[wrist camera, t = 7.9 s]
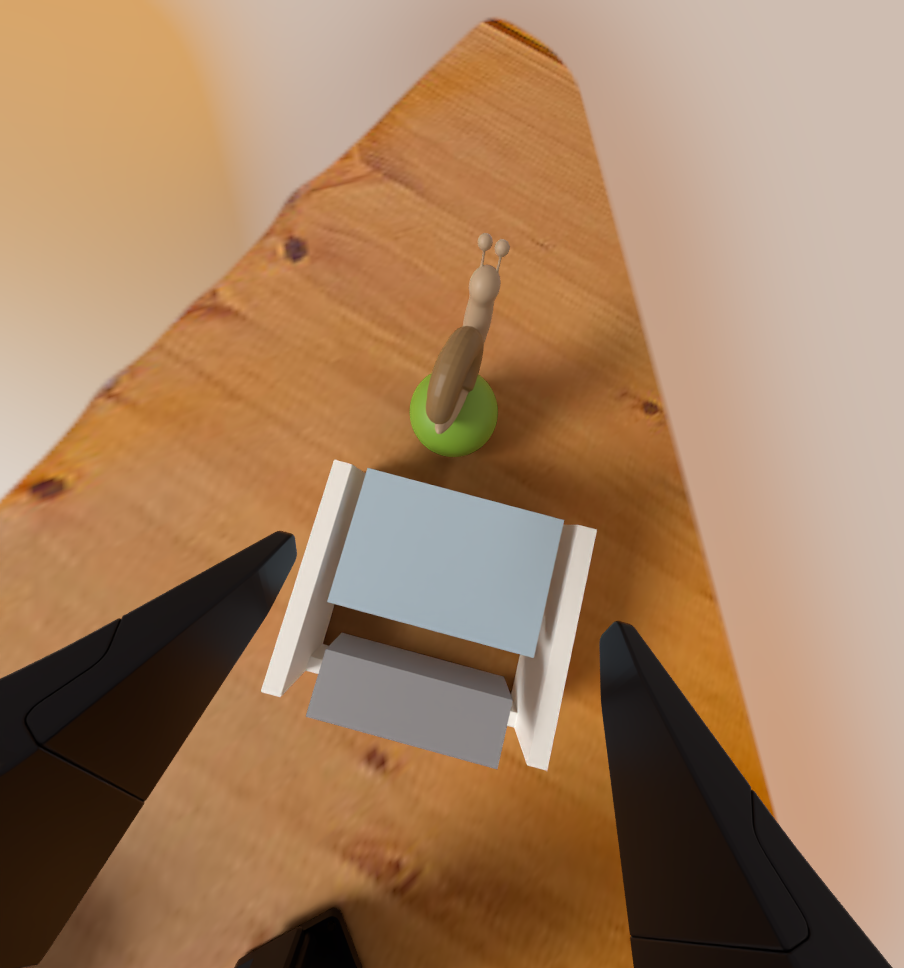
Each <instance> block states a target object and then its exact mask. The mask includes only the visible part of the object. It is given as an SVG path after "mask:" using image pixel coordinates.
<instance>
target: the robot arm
mask: <svg viewBox="0 0 904 968" xmlns="http://www.w3.org/2000/svg"><path fill="white" fill-rule="evenodd" d="M296 556H297V550H296V543H295V537H294V535H293V534H291V533H287V532H283V531H277V532H275V533H273V534H271V535H269V536H267V537H266V538H264V539H262V540H260V541H258V542H256V543H255V544H253V545H251V546H249V547H247V548H246V549H244V550H242V551H240V552H238V553H236V554H235V555H233V556H231V557H229V558H227V559H226V560H224V561H222V562H220V563H218V564H216V565H215V566H213V567H211V568H209V569H207V570H206V571H204V572H202V573H200V574H198V575H197V576H195V577H193V578H191V579H189V580H187V581H186V582H184V583H182V584H180V585H178V586H177V587H175V588H173V589H171V590H169V591H167V592H166V593H164V594H162V595H160V596H158V597H157V598H155V599H153V600H151V601H149V602H147V603H146V604H144V605H142V606H140V607H138V608H137V609H135V610H133V611H131V612H129V613H128V614H126V615H124V616H123V617H122V618H121V619H120V618H119V619H116V620H115V621H113V622H111V623H109V624H107V625H105V626H104V627H102V628H100V629H98V630H96V631H94V632H93V633H91V634H89V635H87V636H85V637H83V638H81V639H79V640H78V641H76V642H74V643H72V644H70V645H68V646H66V647H64V648H62V649H60V650H58V651H56V652H54V653H52V654H50V655H48V656H46V657H44V658H42V659H40V660H38V661H36V662H34V663H32V664H30V665H28V666H26V667H24V668H22V669H20V670H18V671H16V672H13V673H11V674H9V675H7V676H5V677H3V678H1V679H0V968H24V967H30V966H35V965H38V964H39V963H40V961H41V960H42V958H43V957H44V956H45V954H46V953H47V951H48V950H49V948H50V947H51V945H52V944H53V942H54V941H55V939H56V938H57V936H58V935H59V933H60V932H61V930H62V929H63V927H64V926H65V924H66V922H67V921H68V919H69V918H70V916H71V915H72V913H73V912H74V910H75V909H76V907H77V906H78V904H79V903H80V901H81V899H82V898H83V896H84V895H85V893H86V892H87V890H88V889H89V887H90V886H91V884H92V883H93V881H94V880H95V878H96V877H97V875H98V873H99V872H100V870H101V869H102V867H103V866H104V864H105V863H106V861H107V860H108V858H109V857H110V855H111V854H112V852H113V851H114V849H115V847H116V846H117V844H118V843H119V841H120V840H121V838H122V837H123V835H124V834H125V832H126V831H127V829H128V828H129V826H130V824H131V823H132V821H133V820H134V818H135V817H136V815H137V814H138V812H139V811H140V809H141V808H142V806H143V805H144V801H145V800H146V799H147V798H148V797H149V795H150V793H151V792H152V790H153V789H154V787H155V786H156V784H157V783H158V781H159V780H160V778H161V777H162V775H163V774H164V772H165V771H166V769H167V767H168V766H169V764H170V763H171V761H172V760H173V758H174V757H175V755H176V754H177V752H178V751H179V749H180V748H181V746H182V744H183V743H184V741H185V740H186V738H187V737H188V735H189V734H190V732H191V731H192V729H193V728H194V726H195V725H196V723H197V722H198V720H199V718H200V717H201V715H202V714H203V712H204V711H205V709H206V708H207V706H208V705H209V703H210V702H211V700H212V699H213V697H214V696H215V694H216V692H217V691H218V689H219V688H220V686H221V685H222V683H223V682H224V680H225V679H226V677H227V676H228V674H229V673H230V671H231V670H232V668H233V666H234V665H235V663H236V662H237V660H238V659H239V657H240V656H241V654H242V653H243V651H244V650H245V648H246V647H247V645H248V643H249V642H250V640H251V639H252V637H253V636H254V634H255V633H256V631H257V630H258V628H259V627H260V625H261V624H262V622H263V621H264V619H265V617H266V616H267V614H268V612H269V611H270V609H271V607H272V605H273V603H274V601H275V599H276V597H277V595H278V594H279V592H280V590H281V588H282V586H283V584H284V582H285V580H286V578H287V576H288V574H289V572H290V570H291V568H292V566H293V564H294V562H295V560H296ZM600 686H601V705H602V714H603V722H604V730H605V738H606V746H607V754H608V762H609V770H610V778H611V786H612V794H613V802H614V810H615V818H616V826H617V834H618V842H619V850H620V858H621V866H622V874H623V882H624V890H625V898H626V906H627V914H628V922H629V930H630V935H631V937H630V940H631V948H632V956H633V964H634V968H892V967H891V965H890V964H889V963H888V962H887V961H886V959H885V958H884V957H883V955H882V954H881V953H880V952H879V951H878V949H877V948H876V947H875V946H874V944H873V943H872V942H871V941H870V939H869V938H868V937H867V936H866V935H865V933H864V932H863V931H862V929H861V928H860V927H859V926H858V925H857V923H856V922H855V921H854V920H853V918H852V917H851V916H850V915H849V913H848V912H847V911H846V910H845V908H843V906H842V905H841V904H840V902H839V901H838V900H837V898H836V897H835V896H834V895H833V893H832V892H831V891H830V890H829V889H828V887H827V886H826V885H825V883H824V882H823V881H822V880H821V878H820V877H819V876H818V875H817V873H816V872H815V871H814V870H813V868H812V867H811V866H810V864H809V863H808V862H807V861H806V859H805V858H804V857H803V856H802V854H801V853H800V852H799V851H798V849H797V848H796V847H795V845H794V844H793V843H792V841H791V840H790V839H789V837H788V836H787V835H786V833H785V832H784V831H783V829H782V828H781V827H780V825H779V824H778V823H777V821H776V820H775V819H774V817H773V816H772V815H771V813H770V812H769V811H768V809H767V808H766V807H765V805H764V804H763V802H762V801H761V800H760V798H759V797H758V796H757V794H756V793H755V792H754V791H753V790H751V786H750V785H749V783H748V782H747V781H746V779H745V778H744V777H743V775H742V774H741V773H740V771H739V770H738V768H737V767H736V766H735V764H734V763H733V762H732V760H731V759H730V758H729V756H728V755H727V753H726V752H725V751H724V749H723V748H722V747H721V745H720V744H719V742H718V741H717V740H716V738H715V737H714V736H713V734H712V733H711V732H710V730H709V729H708V727H707V726H706V725H705V723H704V722H703V721H702V719H701V718H700V716H699V715H698V714H697V712H696V711H695V710H694V708H693V707H692V706H691V704H690V703H689V701H688V700H687V699H686V697H685V696H684V695H683V693H682V692H681V690H680V689H679V688H678V686H677V685H676V684H675V682H674V681H673V680H672V678H671V677H670V675H669V674H668V673H667V671H666V670H665V669H664V667H663V666H662V665H661V663H660V662H659V660H658V659H657V658H656V656H655V655H654V654H653V652H652V651H651V649H650V648H649V647H648V645H647V644H646V643H645V641H644V640H643V639H642V637H641V636H640V634H639V633H638V632H637V630H636V629H635V628H634V627H633V626H632V625H630V624H628V623H624V622H620V621H615V622H614V623H613V624H612V625H611V626H610V627H609V628H608V629H607V630H606V631H605V632H604V633H603V634H602V636H601V638H600ZM331 921H334V922H335V923H332V922H331ZM234 968H362V966H361V963H360V960H359V958H358V955H357V952H356V950H355V947H354V944H353V942H352V939H351V936H350V934H349V931H348V929H347V926H346V923H345V921H344V918H343V915H342V913H341V911H340V910H338V909H337V908H332V909H330V910H328V911H326V912H324V913H322V914H321V915H319V916H317V917H315V918H313V919H311V920H310V921H308V922H306V923H304V924H302V925H301V926H299V927H297V928H295V929H293V930H291V931H289V932H288V933H286V934H284V935H282V936H280V937H278V938H277V939H275V940H273V941H271V942H269V943H267V944H266V945H264V946H262V947H260V948H259V949H257V950H255V951H253V952H251V953H249V954H248V955H246V956H244V957H242V958H241V959H239V960H238V962H237V963H236V965H235V967H234Z"/></svg>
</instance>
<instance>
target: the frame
mask: <svg viewBox="0 0 904 968" xmlns="http://www.w3.org/2000/svg"><path fill="white" fill-rule="evenodd" d="M365 475H366V473H364V472H363V471H361V470H360V469H358V468H357V467H355V466H354V465H352V464H348V463H344V462H341V461H337V460H334V462H333V465H332V468H331V472H330V475H329V478H328V481H327V484H326V487H325V491H324V494H323V497H322V500H321V503H320V506H319V509H318V513H317V516H316V519H315V522H314V525H313V528H312V532H311V535H310V538H309V541H308V544H307V547H306V551H305V554H304V557H303V560H302V563H301V566H300V570H299V573H298V576H297V579H296V582H295V585H294V588H293V592H292V595H291V598H290V601H289V604H288V607H287V611H286V614H285V617H284V620H283V623H282V626H281V630H280V633H279V636H278V639H277V642H276V645H275V648H274V652H273V655H272V658H271V661H270V664H269V667H268V671H267V674H266V677H265V680H264V683H263V686H262V690H261V692H263V693H267V694H271V695H274V696H278V697H281V696H282V695H283V694H284V693H285V692H286V691H287V690H288V689H289V688H290V687H291V686H292V684H293V683H294V682H295V681H296V680H297V679H298V678H299V677H300V676H301V675H302V674H303V673H304V672H305V671H310V672H313V673H317V674H319V670H320V667H321V664H322V660H323V657H324V653H325V650H326V648H327V647H328V645H324V644H323V642H324V638H325V635H326V632H327V628H328V625H329V622H330V618H331V615H332V612H333V608H334V605H335V604H333V603H329V602H327V601H328V597H329V594H330V591H331V587H332V584H333V581H334V577H335V574H336V571H337V567H338V564H339V561H340V558H341V554H342V551H343V548H344V544H345V541H346V538H347V534H348V531H349V528H350V524H351V521H352V518H353V515H354V511H355V508H356V505H357V501H358V498H359V495H360V491H361V488H362V485H363V481H364V478H365ZM596 532H597V530H596V529H592V528H589V527H585V526H581V525H563V528H562V532H561V537H560V541H559V546H558V550H557V555H556V559H555V564H554V568H553V573H552V577H551V582H550V587H549V591H548V596H547V600H546V605H545V609H544V614H543V618H542V623H541V627H540V632H539V636H538V641H537V645H536V650H535V655H534V658H532V657H528V656H524V655H521V654H520V657H519V661H518V666H517V670H516V675H515V679H514V683H513V688H512V692H511V697H512V700H513V702H512V706H511V710H510V715H509V719H508V724H507V726H510V727H514V728H515V731H516V734H517V737H518V740H519V743H520V746H521V749H522V751H523V754H524V757H525V760H526V763H527V765H528V766H532V767H536V768H539V769H543V770H547V769H548V764H549V759H550V754H551V749H552V745H553V740H554V735H555V730H556V725H557V721H558V716H559V711H560V706H561V701H562V696H563V692H564V687H565V682H566V677H567V672H568V667H569V663H570V658H571V653H572V648H573V643H574V638H575V634H576V629H577V624H578V619H579V614H580V609H581V605H582V600H583V595H584V590H585V585H586V580H587V576H588V571H589V566H590V561H591V556H592V551H593V547H594V542H595V537H596Z"/></svg>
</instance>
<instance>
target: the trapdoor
mask: <svg viewBox="0 0 904 968" xmlns="http://www.w3.org/2000/svg"><path fill="white" fill-rule="evenodd" d="M563 523H564V520H562V519H558V518H554V517H550V516H547V515H543V514H539V513H535V512H532V511H528V510H524V509H520V508H517V507H513V506H509V505H505V504H502V503H498V502H494V501H490V500H487V499H483V498H479V497H475V496H471V495H468V494H464V493H460V492H456V491H453V490H449V489H445V488H441V487H438V486H434V485H430V484H426V483H423V482H419V481H415V480H411V479H408V478H404V477H400V476H396V475H393V474H389V473H385V472H381V471H378V470H374V469H370V468H367V472H366V475H365V478H364V481H363V485H362V488H361V491H360V495H359V498H358V501H357V505H356V508H355V511H354V515H353V518H352V521H351V524H350V528H349V531H348V534H347V538H346V541H345V544H344V548H343V551H342V554H341V558H340V561H339V564H338V567H337V571H336V574H335V577H334V581H333V584H332V587H331V591H330V594H329V597H328V601H327V602H329V603H333V604H336V605H340V606H344V607H347V608H351V609H355V610H358V611H362V612H366V613H369V614H373V615H377V616H381V617H384V618H388V619H392V620H395V621H399V622H403V623H406V624H410V625H414V626H417V627H421V628H425V629H428V630H432V631H436V632H439V633H443V634H447V635H451V636H454V637H458V638H462V639H465V640H469V641H473V642H476V643H480V644H484V645H487V646H491V647H495V648H498V649H502V650H506V651H509V652H513V653H517V654H521V655H524V656H528V657H532V658H534V655H535V650H536V645H537V641H538V636H539V632H540V627H541V623H542V618H543V614H544V609H545V605H546V600H547V596H548V591H549V587H550V582H551V577H552V573H553V568H554V564H555V559H556V555H557V550H558V546H559V541H560V537H561V532H562V528H563ZM512 702H513V700H512V697H511V694H510V692H509V689H508V687H507V684H506V681H505V679H504V677H503V676H499V675H496V674H492V673H488V672H485V671H481V670H477V669H474V668H470V667H466V666H463V665H459V664H455V663H452V662H448V661H444V660H441V659H437V658H433V657H430V656H426V655H422V654H419V653H415V652H411V651H408V650H404V649H400V648H397V647H393V646H389V645H386V644H382V643H378V642H375V641H371V640H367V639H364V638H360V637H356V636H353V635H349V634H345V633H341V634H340V635H339V636H338V637H337V638H336V639H335V640H334V641H333V642H332V643H331V644H330V645H329V646H328V647H327V648H326V650H325V653H324V657H323V660H322V664H321V667H320V670H319V674H318V677H317V680H316V684H315V687H314V690H313V694H312V697H311V700H310V704H309V707H308V711H307V714H306V717H309V718H313V719H317V720H320V721H324V722H328V723H331V724H335V725H338V726H342V727H346V728H349V729H353V730H357V731H360V732H364V733H367V734H371V735H375V736H378V737H382V738H386V739H389V740H393V741H396V742H400V743H404V744H407V745H411V746H415V747H418V748H422V749H425V750H429V751H433V752H436V753H440V754H444V755H447V756H451V757H454V758H458V759H462V760H465V761H469V762H473V763H476V764H480V765H483V766H487V767H491V768H494V769H497V768H498V764H499V759H500V755H501V750H502V746H503V742H504V737H505V733H506V728H507V724H508V719H509V715H510V710H511V706H512Z"/></svg>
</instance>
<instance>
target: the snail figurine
mask: <svg viewBox="0 0 904 968" xmlns="http://www.w3.org/2000/svg"><path fill="white" fill-rule="evenodd" d="M492 243H493V241H492V237H491V236H490V235H489V234H487V233H483V234H481V235H480V236H479V238H478V246H479V248H480V249H481V250H482V251H483V254H482V260H481V265H480V267H479V268H478V269H476V270H475V272H474V273H473V274H472V276H471V279H470V282H469V293H470V297H469V301H468V304H467V308H466V312H465V316H464V322H463V327H460V328H458V329H457V330H456V331H455V332H454V333H453V334H452V335H451V336H450V338H449V339H448V341H447V342H446V344H445V345H444V347H443V348H442V350H441V352H440V354H439V356H438V358H437V361H436V363H435V366H434V368H433V371H432V373H431V374H429V375H428V376H427V377H425V378H424V379H423V380H422V381H421V383H420V384H419V385H418V386H417V388H416V390H415V392H414V394H413V396H412V399H411V404H410V420H411V425H412V428H413V430H414V432H415V434H416V436H417V438H418V439H419V440H420V442H421V443H422V444H423V445H424V446H425V447H427V448H428V449H429V450H431V451H433V452H435V453H437V454H439V455H442V456H447V457H460V456H465V455H468V454H471V453H473V452H475V451H476V450H478V449H479V448H481V447H482V446H483V445H484V444H485V443H486V442H487V441H488V440H489V438H490V437H491V435H492V433H493V431H494V429H495V426H496V423H497V417H498V407H497V401H496V398H495V395H494V393H493V391H492V389H491V387H490V386H489V384H488V383H487V382H486V381H485V380H484V379H483V378H482V377H481V376H480V375H478V373H479V369H480V365H481V361H482V355H483V348H484V342H485V339H486V336H487V333H488V330H489V327H490V323H491V319H492V313H493V306H494V301H495V299H496V297H497V295H498V292H499V289H500V276H499V273H498V271H499V266H500V262H501V258H502V257H504V256H506V255H507V254H508V252H509V249H510V246H509V243H508V242H507V241H506V240H504V239H501V240H499V241H497V243H496V245H495V253H496V254H497V255H498V256H499V261H498V265H497V269H495V268H494V267H493V266H491V265H483V262H484V255H485V251H487V250H489V249H490V248H491V246H492Z"/></svg>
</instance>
